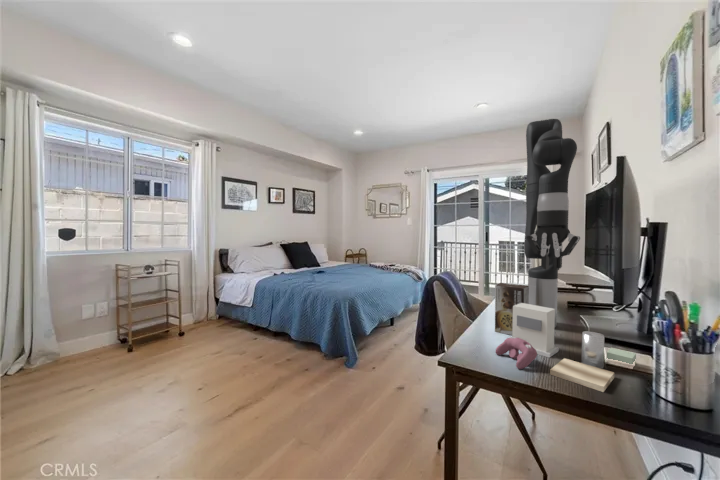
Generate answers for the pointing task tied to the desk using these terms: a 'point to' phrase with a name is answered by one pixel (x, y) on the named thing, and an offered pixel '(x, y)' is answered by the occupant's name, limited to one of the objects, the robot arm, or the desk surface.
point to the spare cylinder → (593, 349)
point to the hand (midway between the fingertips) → (551, 269)
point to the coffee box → (508, 304)
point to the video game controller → (514, 346)
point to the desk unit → (535, 327)
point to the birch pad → (583, 374)
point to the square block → (621, 355)
